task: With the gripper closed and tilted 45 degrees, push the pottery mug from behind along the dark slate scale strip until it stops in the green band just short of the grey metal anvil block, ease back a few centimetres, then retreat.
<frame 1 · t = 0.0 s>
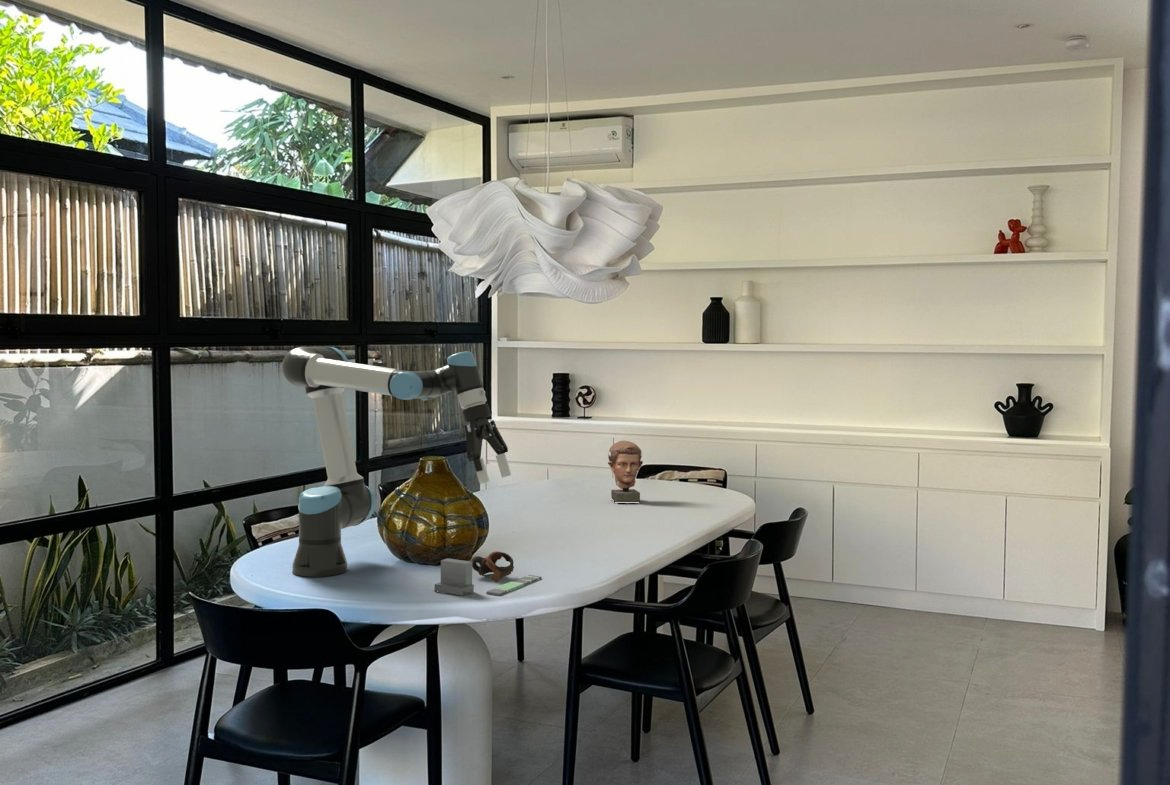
hand: (495, 479, 283), 28 cm above the table, tool tilted 20°, fingers open, 13 cm apart
gauge bench: (476, 583, 279), on the table
pottery mug: (492, 578, 286), on the table
anvil: (456, 590, 270), on the table
bust: (625, 502, 418), on the table
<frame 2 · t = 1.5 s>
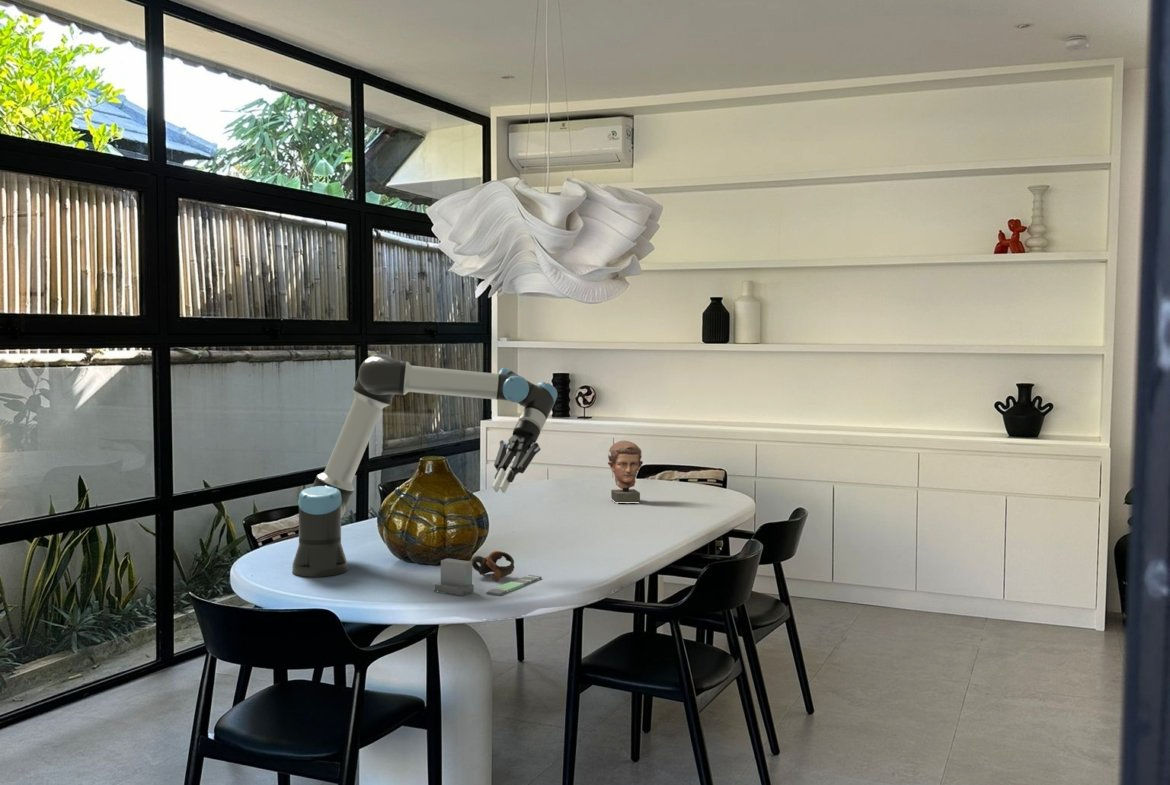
hand: (498, 489, 290), 24 cm above the table, tool tilted 45°, fingers closed
nothing on the table moved.
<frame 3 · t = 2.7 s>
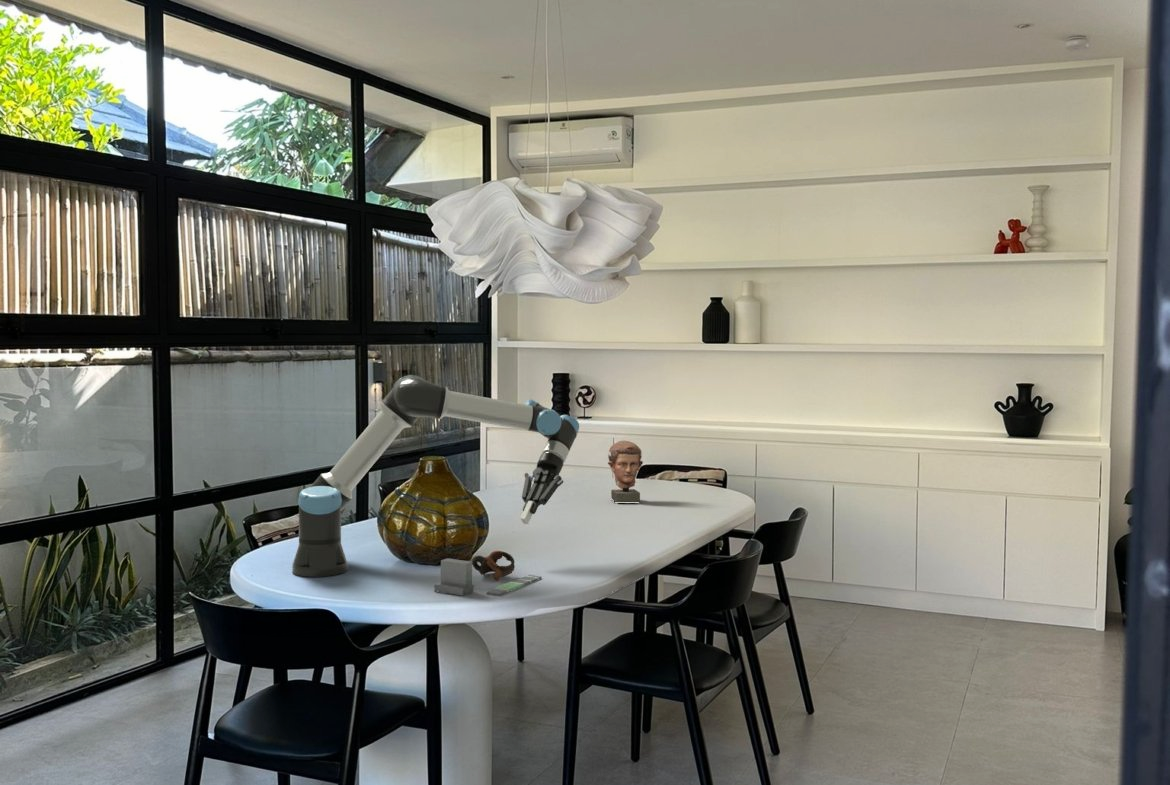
hand: (524, 521, 300), 13 cm above the table, tool tilted 45°, fingers closed
nothing on the table moved.
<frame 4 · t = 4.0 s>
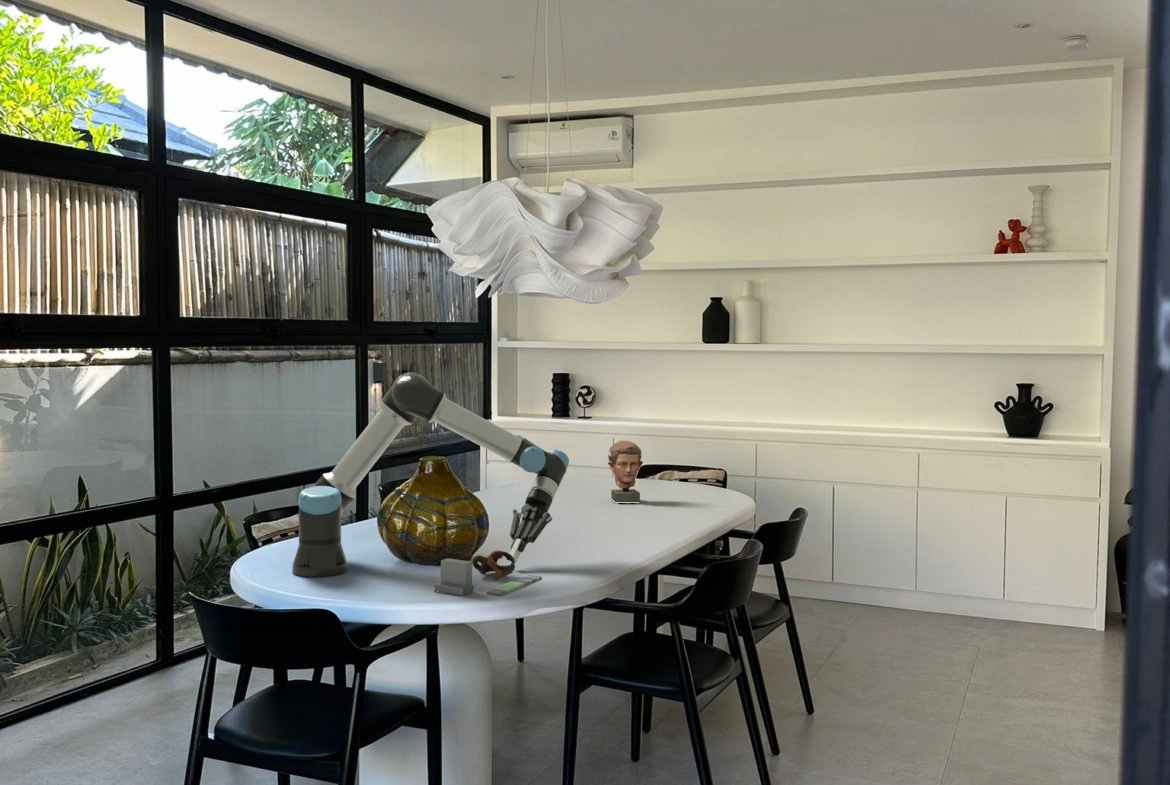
hand: (512, 559, 295), 3 cm above the table, tool tilted 45°, fingers closed
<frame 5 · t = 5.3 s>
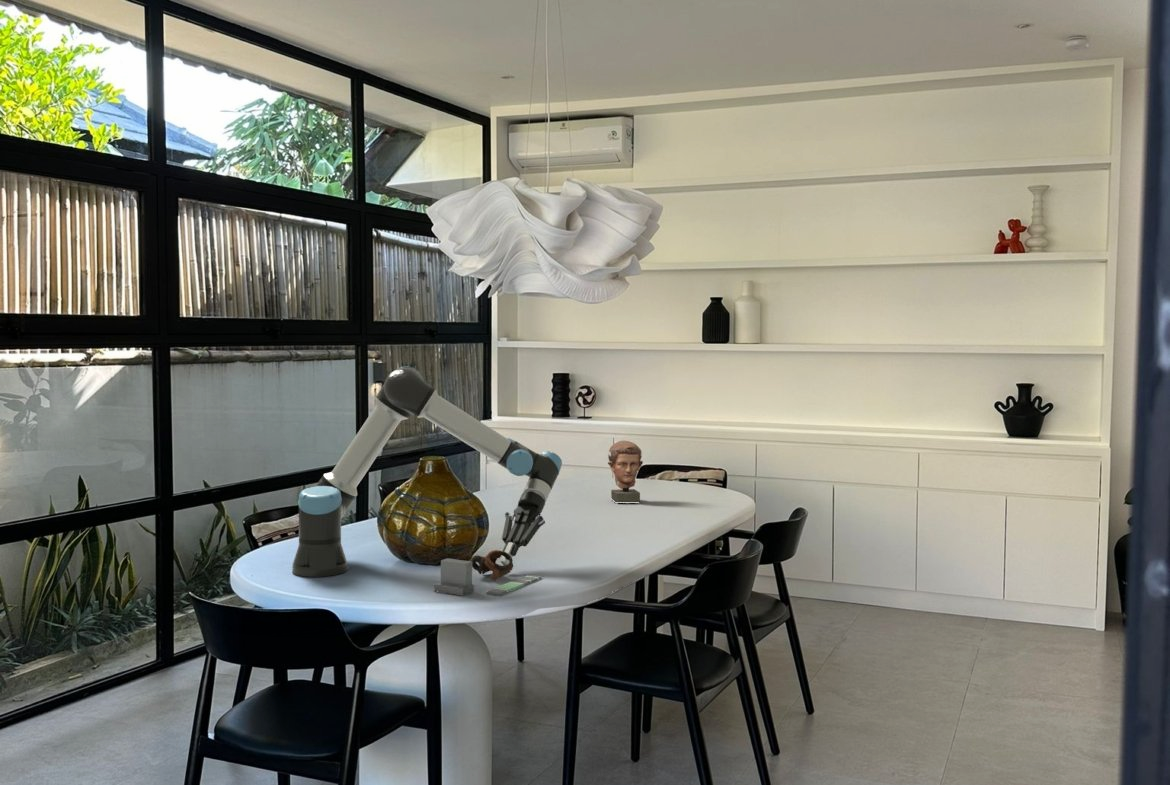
hand: (504, 563, 290), 3 cm above the table, tool tilted 45°, fingers closed
pottery mug: (492, 577, 286), on the table, touching gripper
everything else where it was.
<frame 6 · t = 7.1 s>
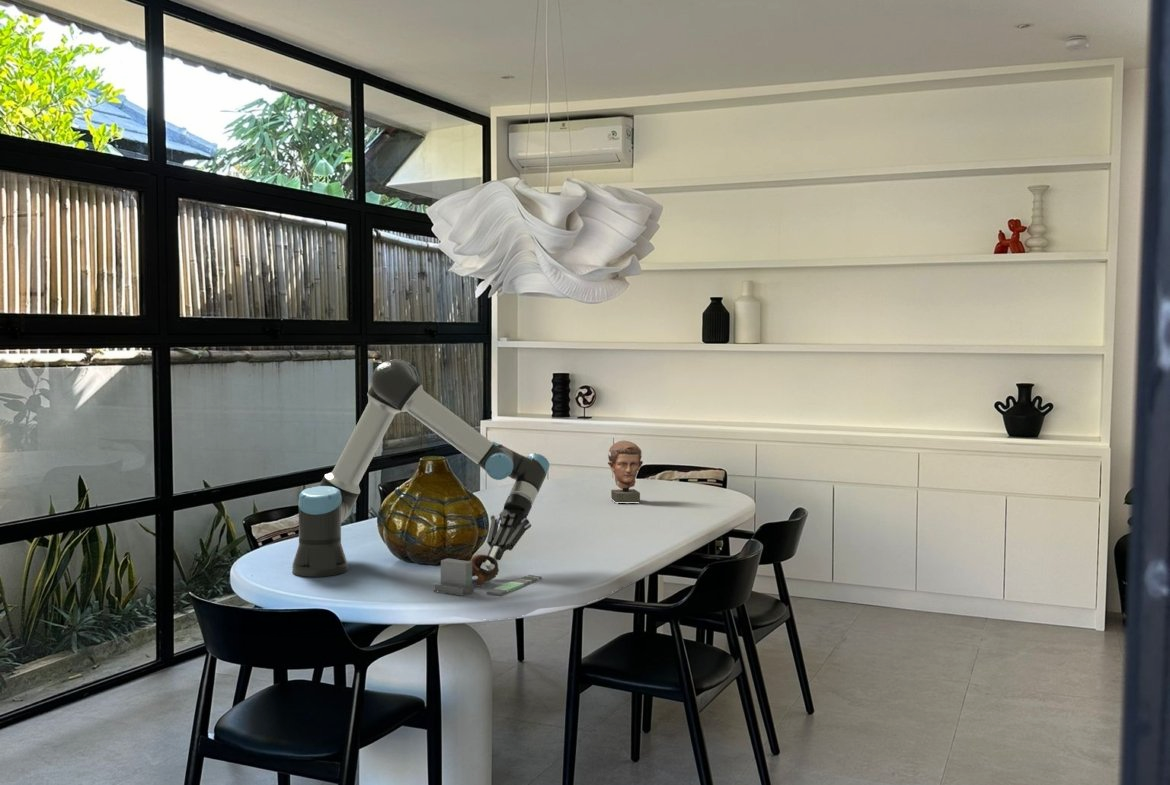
hand: (488, 568, 284), 3 cm above the table, tool tilted 45°, fingers closed
pottery mug: (477, 582, 280), on the table, touching gripper
everything else where it was.
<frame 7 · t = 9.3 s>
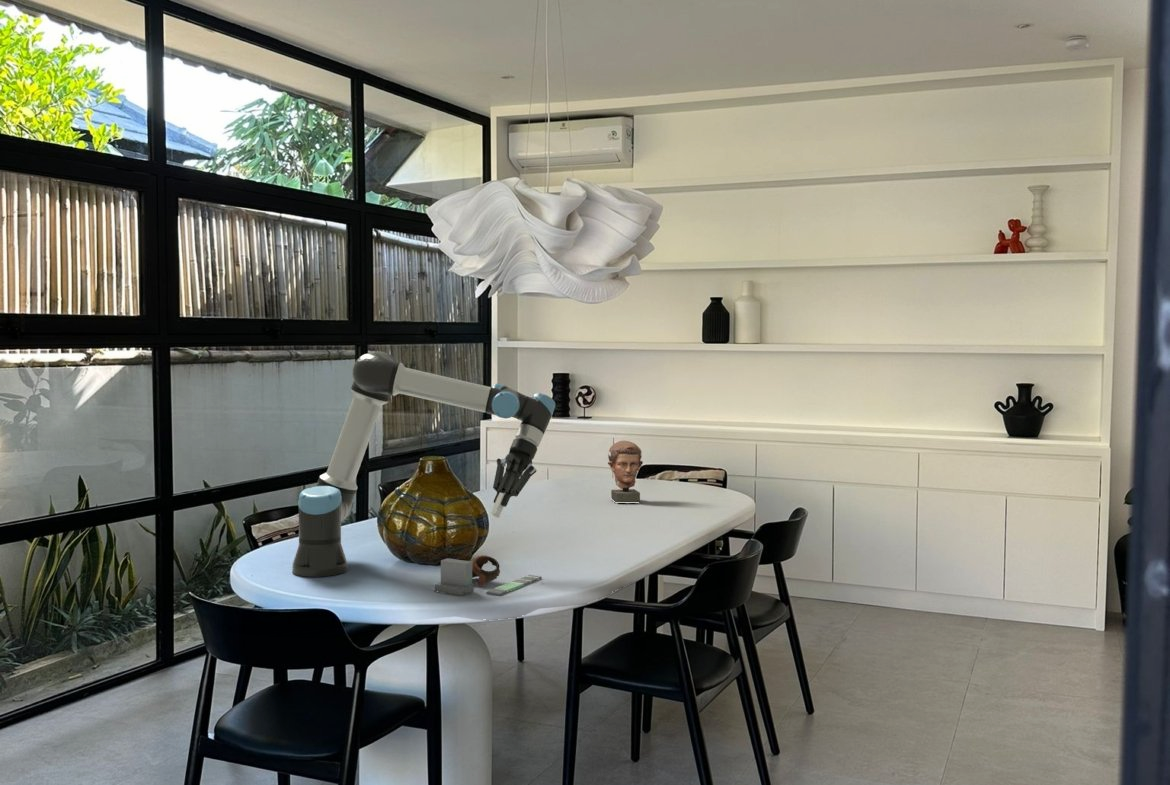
hand: (494, 515, 291), 17 cm above the table, tool tilted 35°, fingers closed
pottery mug: (478, 583, 281), on the table
everything else where it was.
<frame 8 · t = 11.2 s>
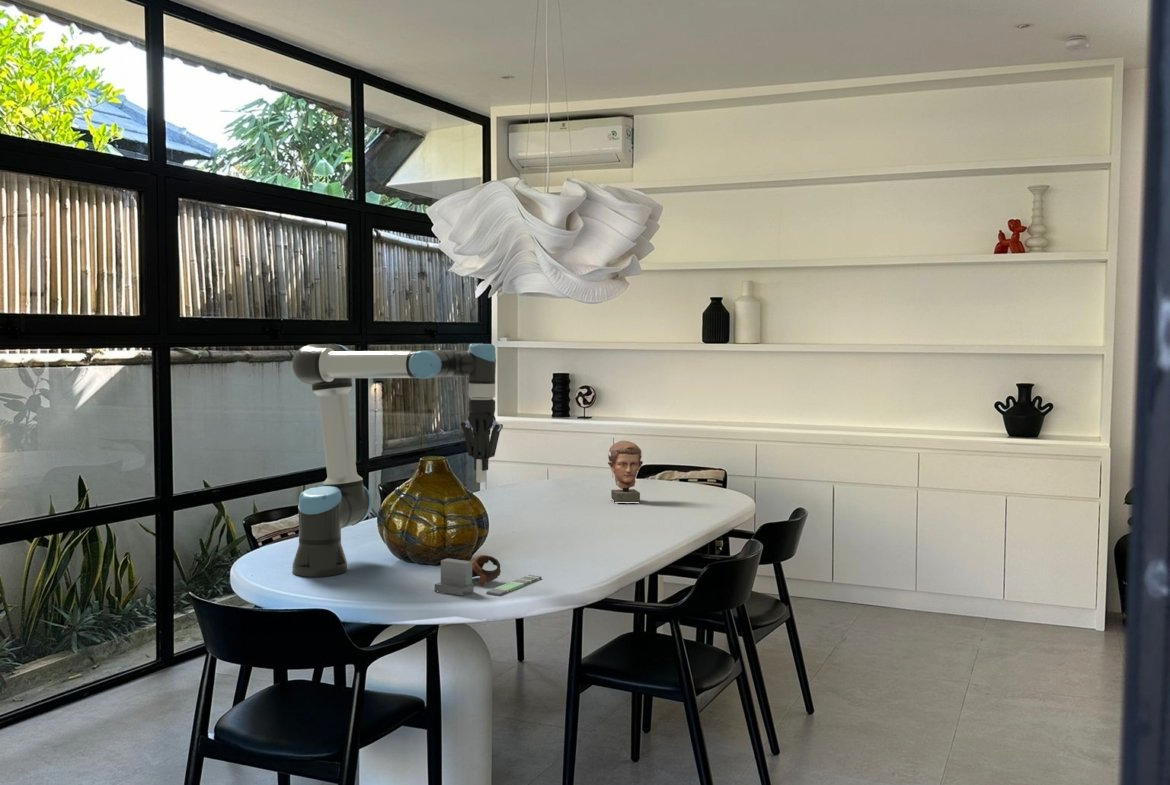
hand: (481, 481, 288), 26 cm above the table, tool pointing down, fingers closed
nothing on the table moved.
at the end: pottery mug inside the target area (2.5 cm from its centre), on the table; pottery mug tilted 1°; pottery mug moved 5.8 cm from its start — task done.
